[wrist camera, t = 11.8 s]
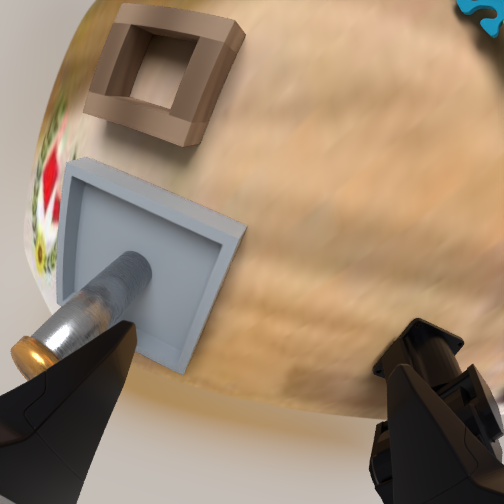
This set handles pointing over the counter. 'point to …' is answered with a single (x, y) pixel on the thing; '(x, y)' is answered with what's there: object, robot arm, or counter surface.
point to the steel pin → (84, 315)
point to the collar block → (193, 82)
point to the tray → (145, 253)
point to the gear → (497, 0)
